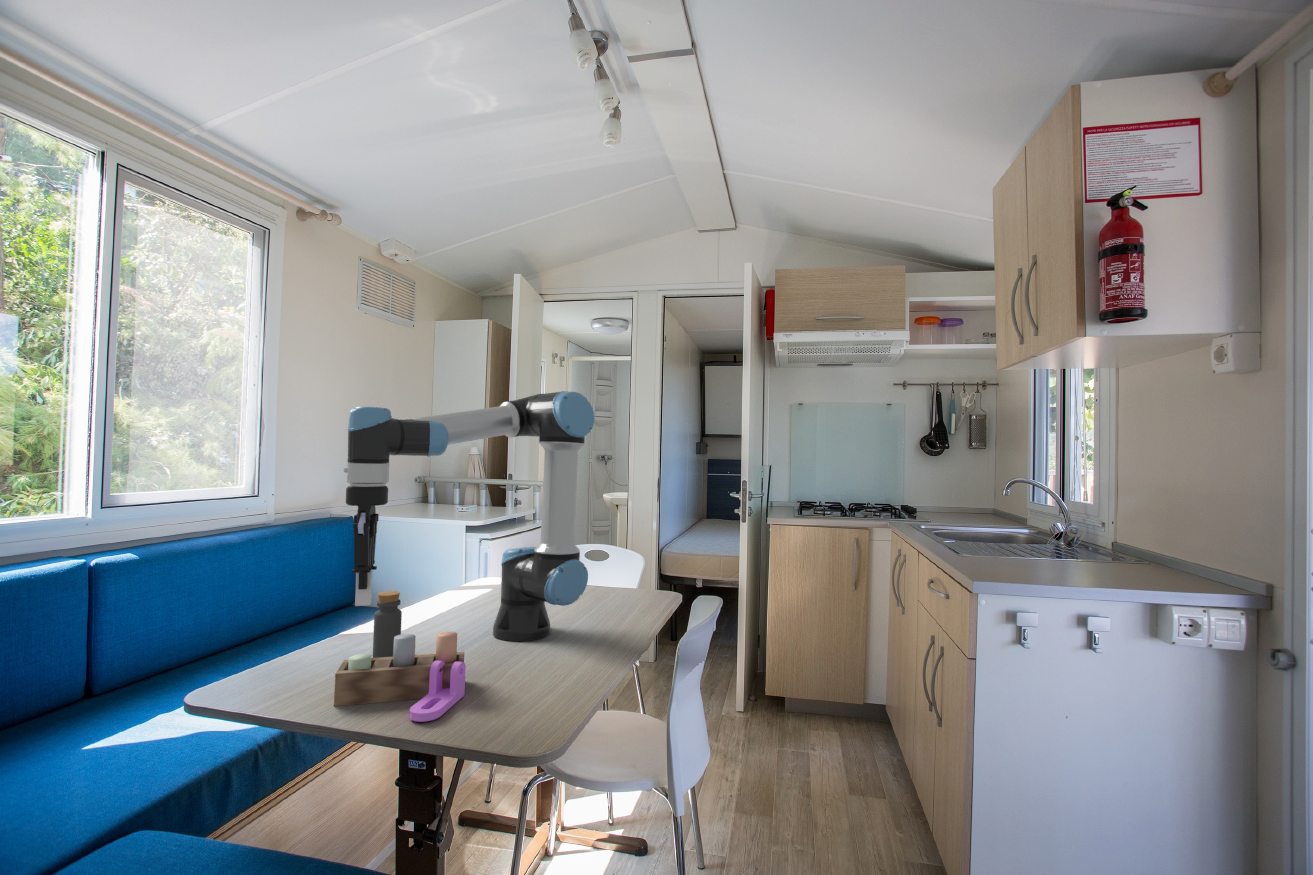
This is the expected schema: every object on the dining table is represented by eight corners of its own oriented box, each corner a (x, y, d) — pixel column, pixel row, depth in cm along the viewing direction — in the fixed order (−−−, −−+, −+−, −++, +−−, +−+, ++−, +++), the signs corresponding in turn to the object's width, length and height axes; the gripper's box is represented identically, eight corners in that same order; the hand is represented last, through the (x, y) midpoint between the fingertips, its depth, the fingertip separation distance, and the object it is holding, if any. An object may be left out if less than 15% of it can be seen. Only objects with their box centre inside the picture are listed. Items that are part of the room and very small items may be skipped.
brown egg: (456, 662, 124) (457, 631, 124) (455, 669, 120) (457, 636, 120) (436, 664, 123) (437, 632, 123) (434, 670, 119) (436, 637, 119)
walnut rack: (463, 680, 126) (464, 651, 126) (462, 694, 118) (463, 664, 119) (342, 690, 119) (344, 659, 120) (333, 706, 112) (335, 673, 112)
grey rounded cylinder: (415, 665, 122) (416, 633, 122) (413, 672, 118) (414, 639, 118) (393, 667, 120) (395, 634, 121) (391, 673, 117) (392, 640, 117)
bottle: (389, 663, 135) (392, 596, 136) (366, 660, 137) (369, 594, 137) (405, 654, 141) (407, 591, 142) (383, 652, 142) (386, 589, 143)
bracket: (437, 693, 118) (438, 657, 119) (464, 695, 118) (465, 659, 118) (403, 720, 106) (405, 680, 106) (433, 722, 105) (435, 681, 105)
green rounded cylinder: (371, 686, 119) (372, 653, 119) (368, 693, 115) (369, 659, 116) (349, 687, 118) (350, 654, 118) (345, 695, 114) (346, 661, 114)
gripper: (353, 483, 123) (348, 597, 122) (339, 486, 111) (334, 614, 110) (392, 483, 125) (388, 596, 125) (383, 486, 113) (378, 612, 112)
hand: (363, 604), depth 117 cm, fingers closed
